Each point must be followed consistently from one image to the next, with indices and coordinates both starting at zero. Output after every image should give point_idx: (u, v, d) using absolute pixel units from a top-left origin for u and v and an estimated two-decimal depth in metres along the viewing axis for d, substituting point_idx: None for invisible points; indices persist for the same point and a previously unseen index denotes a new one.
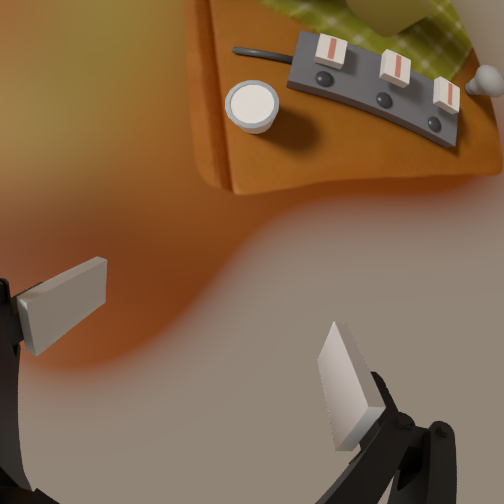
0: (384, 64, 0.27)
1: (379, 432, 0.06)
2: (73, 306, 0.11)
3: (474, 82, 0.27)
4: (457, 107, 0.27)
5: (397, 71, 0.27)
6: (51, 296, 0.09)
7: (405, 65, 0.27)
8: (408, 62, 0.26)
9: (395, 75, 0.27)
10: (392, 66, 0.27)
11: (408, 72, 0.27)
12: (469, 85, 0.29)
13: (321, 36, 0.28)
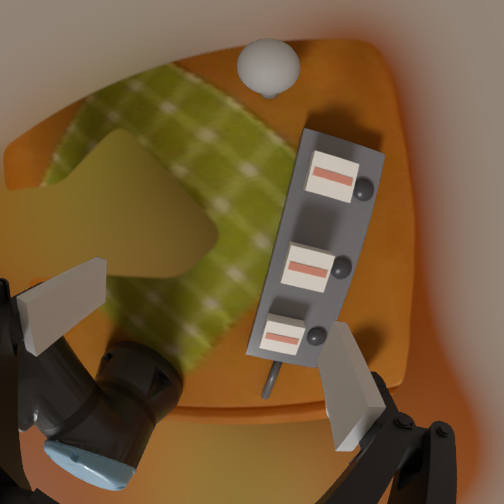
0: (308, 288, 0.28)
1: (379, 432, 0.06)
2: (73, 306, 0.11)
3: None
4: (352, 165, 0.24)
5: (317, 272, 0.27)
6: (51, 296, 0.09)
7: (304, 256, 0.27)
8: (296, 250, 0.27)
9: (325, 275, 0.27)
10: (310, 278, 0.27)
11: (315, 253, 0.26)
12: (269, 94, 0.27)
13: (264, 347, 0.32)
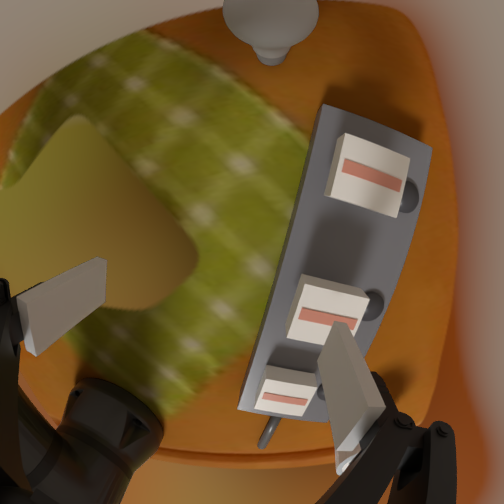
0: None
1: (379, 432, 0.06)
2: (73, 306, 0.11)
3: (274, 51, 0.15)
4: (400, 159, 0.14)
5: None
6: (51, 296, 0.09)
7: (323, 300, 0.17)
8: (313, 291, 0.17)
9: (352, 326, 0.17)
10: None
11: (341, 296, 0.17)
12: (271, 57, 0.17)
13: (260, 408, 0.22)
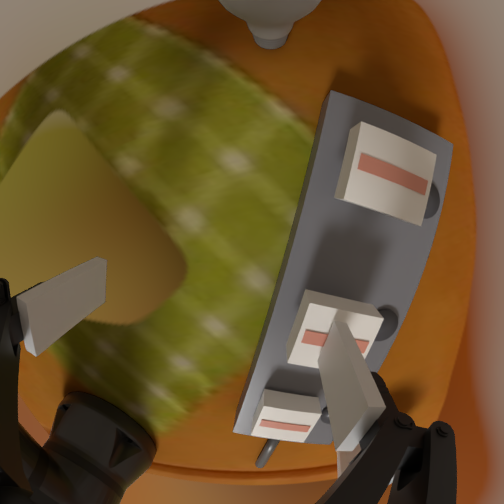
0: None
1: (379, 432, 0.06)
2: (73, 306, 0.11)
3: (273, 29, 0.12)
4: (426, 155, 0.11)
5: None
6: (51, 296, 0.09)
7: (331, 322, 0.14)
8: (319, 311, 0.14)
9: (363, 349, 0.14)
10: None
11: (351, 316, 0.14)
12: (270, 38, 0.14)
13: (258, 435, 0.18)
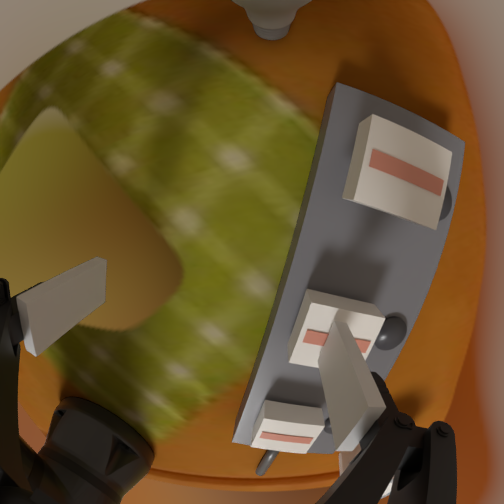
0: None
1: (379, 432, 0.06)
2: (73, 306, 0.11)
3: (274, 17, 0.11)
4: (441, 153, 0.10)
5: None
6: (51, 296, 0.09)
7: (332, 321, 0.14)
8: (321, 311, 0.14)
9: (364, 349, 0.14)
10: None
11: (353, 315, 0.14)
12: (271, 28, 0.13)
13: (258, 446, 0.17)
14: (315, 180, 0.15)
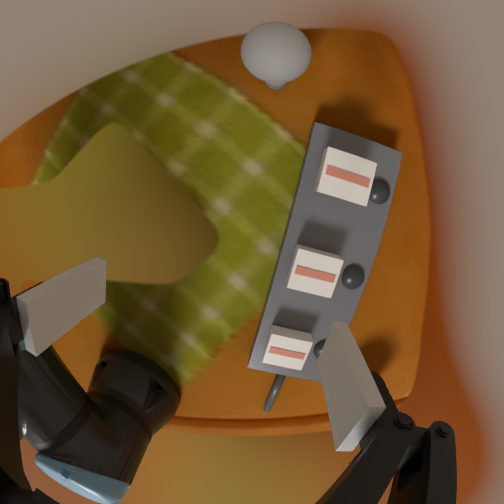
0: (315, 293, 0.26)
1: (379, 432, 0.06)
2: (73, 306, 0.11)
3: None
4: (369, 164, 0.21)
5: (325, 277, 0.26)
6: (51, 296, 0.09)
7: (311, 260, 0.25)
8: (304, 253, 0.25)
9: (333, 280, 0.26)
10: (317, 283, 0.26)
11: (323, 257, 0.25)
12: (276, 84, 0.24)
13: (267, 362, 0.29)
14: (301, 181, 0.26)
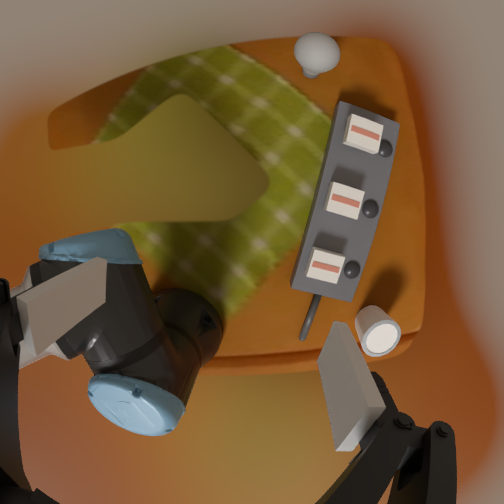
0: None
1: (379, 432, 0.06)
2: (73, 306, 0.11)
3: (316, 72, 0.31)
4: (378, 126, 0.30)
5: (352, 203, 0.34)
6: (51, 296, 0.09)
7: (342, 190, 0.34)
8: (337, 185, 0.34)
9: (358, 206, 0.35)
10: (347, 208, 0.35)
11: (350, 188, 0.34)
12: (312, 74, 0.33)
13: (310, 276, 0.37)
14: (331, 139, 0.35)
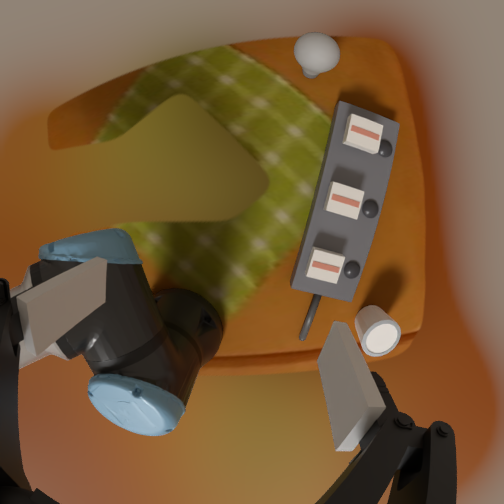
0: None
1: (379, 432, 0.06)
2: (73, 306, 0.11)
3: (315, 72, 0.31)
4: (378, 125, 0.30)
5: (352, 203, 0.34)
6: (51, 296, 0.09)
7: (342, 190, 0.34)
8: (337, 185, 0.34)
9: (357, 206, 0.35)
10: (347, 208, 0.35)
11: (350, 188, 0.34)
12: (312, 74, 0.33)
13: (310, 276, 0.37)
14: (331, 139, 0.35)
